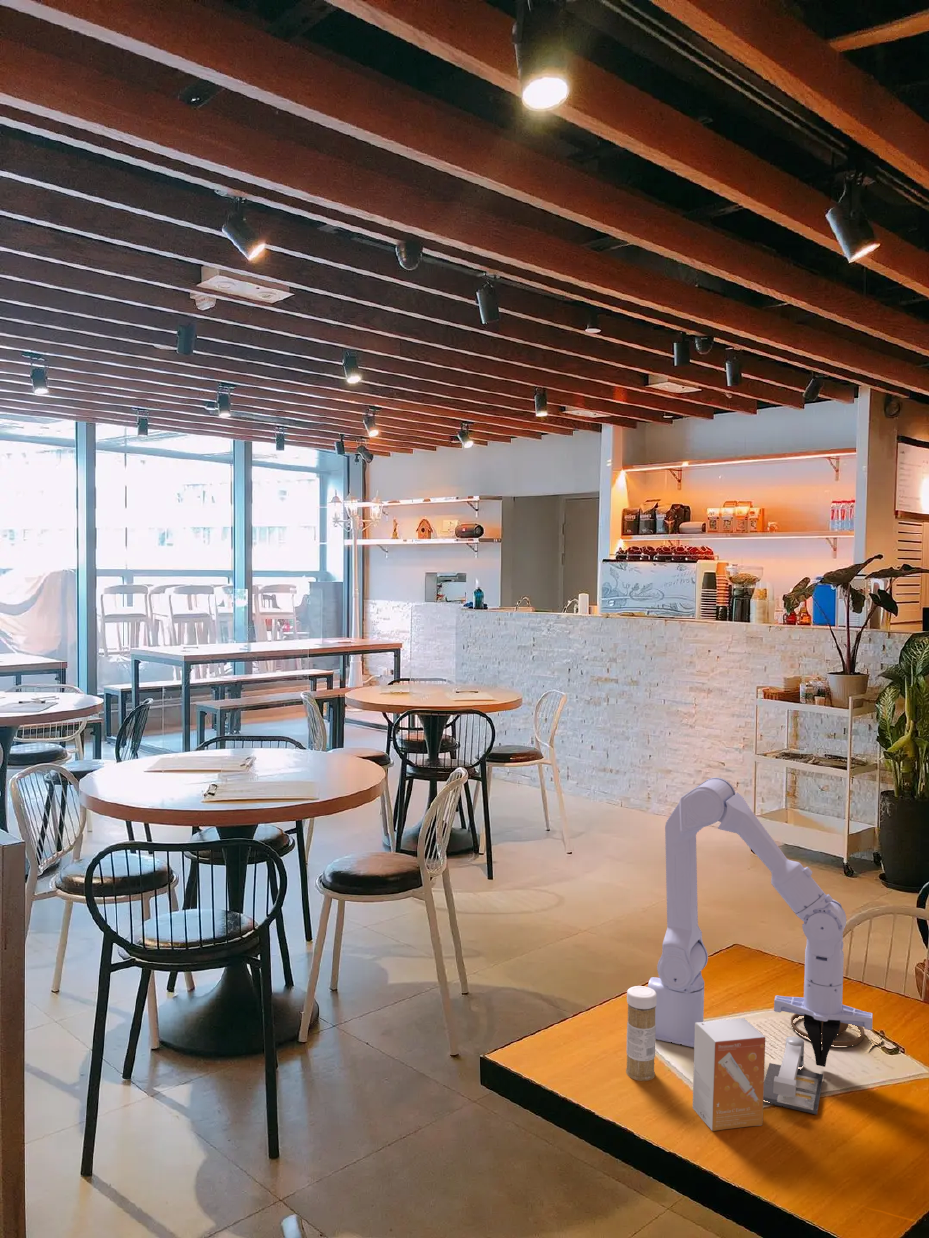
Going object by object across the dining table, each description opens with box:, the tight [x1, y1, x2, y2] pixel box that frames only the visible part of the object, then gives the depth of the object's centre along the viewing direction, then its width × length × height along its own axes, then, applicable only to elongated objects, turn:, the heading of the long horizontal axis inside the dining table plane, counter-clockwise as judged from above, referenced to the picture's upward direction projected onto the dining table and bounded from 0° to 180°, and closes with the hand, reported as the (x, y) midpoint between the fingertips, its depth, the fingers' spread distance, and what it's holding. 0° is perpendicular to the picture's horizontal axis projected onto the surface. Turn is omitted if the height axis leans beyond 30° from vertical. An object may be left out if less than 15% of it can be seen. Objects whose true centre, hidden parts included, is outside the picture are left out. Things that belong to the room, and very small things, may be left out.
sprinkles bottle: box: [625, 985, 657, 1082], centre depth 149 cm, size 5×5×14 cm
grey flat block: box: [763, 1053, 824, 1116], centre depth 147 cm, size 8×15×2 cm, turn 155°
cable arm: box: [773, 1035, 805, 1098], centre depth 147 cm, size 16×3×2 cm, turn 155°
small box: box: [692, 1017, 766, 1132], centre depth 138 cm, size 8×6×13 cm
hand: (821, 1063), depth 152 cm, fingers closed
